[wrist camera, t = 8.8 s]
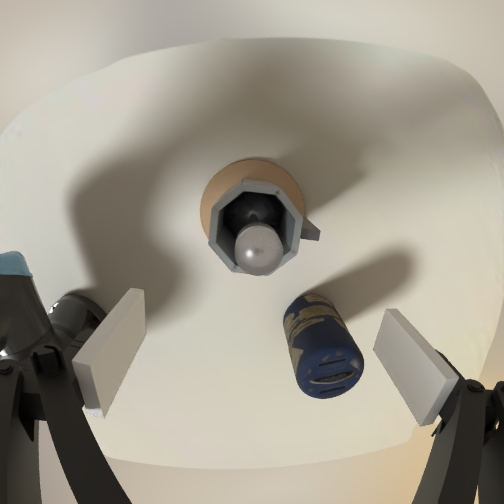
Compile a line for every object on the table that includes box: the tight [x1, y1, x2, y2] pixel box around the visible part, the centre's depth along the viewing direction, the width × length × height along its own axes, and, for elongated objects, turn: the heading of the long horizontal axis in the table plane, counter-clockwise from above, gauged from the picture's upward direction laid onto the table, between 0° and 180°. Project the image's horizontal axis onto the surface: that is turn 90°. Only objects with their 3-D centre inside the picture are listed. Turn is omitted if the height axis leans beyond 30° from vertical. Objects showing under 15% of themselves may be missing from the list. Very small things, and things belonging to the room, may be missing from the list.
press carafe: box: [200, 160, 320, 276], centre depth 40 cm, size 16×16×14 cm
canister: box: [283, 295, 364, 399], centre depth 43 cm, size 10×10×18 cm
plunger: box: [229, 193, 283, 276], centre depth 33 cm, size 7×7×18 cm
